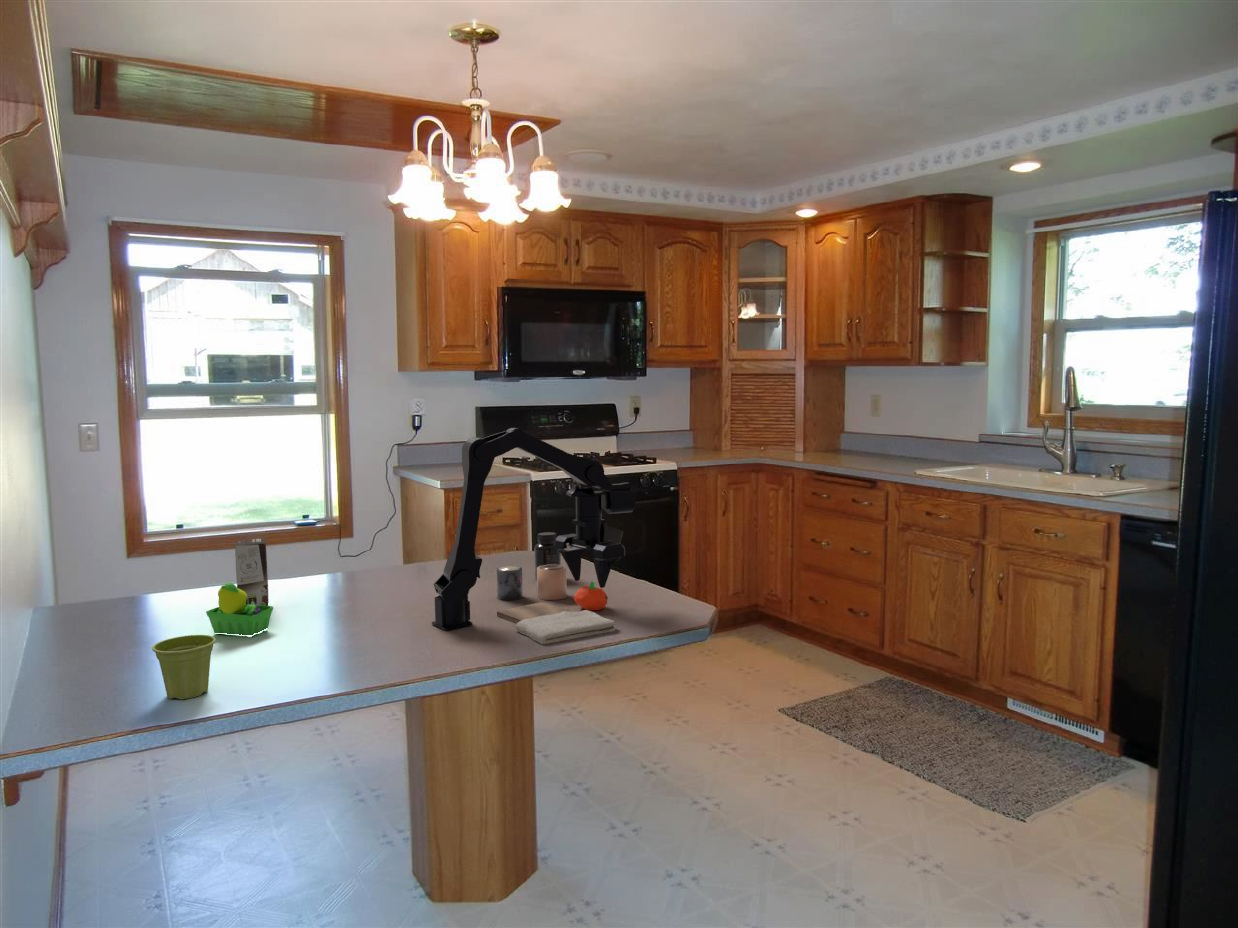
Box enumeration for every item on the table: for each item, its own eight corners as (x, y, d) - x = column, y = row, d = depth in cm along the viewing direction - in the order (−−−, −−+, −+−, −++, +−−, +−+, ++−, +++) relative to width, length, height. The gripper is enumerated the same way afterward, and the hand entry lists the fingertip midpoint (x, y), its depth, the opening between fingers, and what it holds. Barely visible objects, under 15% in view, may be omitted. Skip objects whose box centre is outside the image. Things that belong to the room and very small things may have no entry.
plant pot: (160, 708, 136) (156, 655, 135) (151, 691, 143) (148, 641, 143) (223, 695, 141) (220, 644, 140) (212, 680, 149) (209, 631, 148)
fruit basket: (277, 629, 180) (274, 576, 179) (248, 642, 171) (245, 586, 170) (231, 626, 183) (228, 574, 182) (200, 638, 174) (197, 583, 173)
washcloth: (619, 632, 176) (619, 617, 176) (541, 648, 166) (541, 632, 166) (589, 619, 186) (589, 605, 186) (514, 633, 176) (514, 619, 176)
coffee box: (269, 614, 192) (265, 542, 190) (237, 617, 190) (233, 545, 188) (269, 604, 200) (266, 536, 199) (239, 607, 198) (235, 538, 197)
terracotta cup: (548, 601, 200) (547, 571, 199) (531, 596, 205) (531, 567, 205) (572, 596, 204) (572, 567, 204) (555, 591, 210) (555, 563, 209)
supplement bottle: (563, 576, 227) (562, 531, 225) (558, 582, 220) (558, 535, 219) (537, 576, 227) (536, 531, 226) (532, 581, 220) (531, 535, 219)
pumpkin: (593, 605, 199) (595, 577, 198) (612, 612, 192) (615, 584, 192) (566, 606, 194) (569, 578, 194) (585, 613, 188) (588, 584, 188)
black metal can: (506, 601, 200) (505, 572, 200) (492, 597, 205) (491, 568, 204) (527, 597, 204) (526, 568, 203) (513, 593, 209) (513, 564, 208)
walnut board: (527, 627, 179) (527, 622, 179) (496, 615, 188) (496, 611, 188) (573, 616, 187) (573, 612, 187) (542, 606, 196) (542, 601, 196)
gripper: (643, 516, 189) (643, 585, 191) (591, 507, 204) (592, 572, 205) (604, 521, 182) (604, 593, 184) (553, 512, 197) (554, 579, 198)
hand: (589, 583), depth 193 cm, fingers open, 9 cm apart
